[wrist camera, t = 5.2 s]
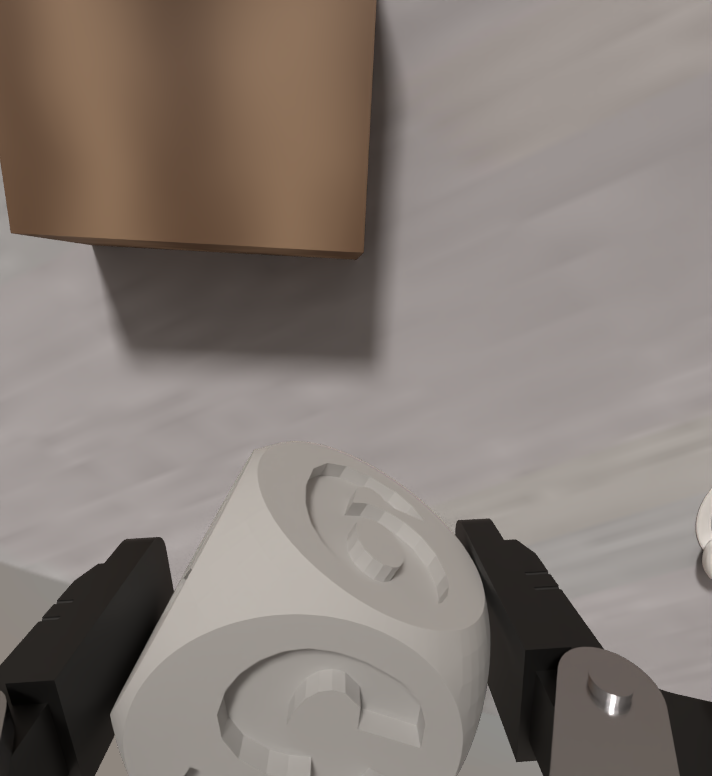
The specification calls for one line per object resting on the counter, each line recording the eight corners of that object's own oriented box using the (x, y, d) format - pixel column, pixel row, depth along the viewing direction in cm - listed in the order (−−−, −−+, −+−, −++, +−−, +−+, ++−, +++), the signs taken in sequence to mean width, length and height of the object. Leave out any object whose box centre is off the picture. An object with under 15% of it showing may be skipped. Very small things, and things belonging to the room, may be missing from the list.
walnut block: (370, -50, 20) (386, -188, 14) (356, 259, 23) (363, 252, 17) (62, -80, 19) (-59, -242, 13) (95, 245, 22) (10, 233, 16)
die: (184, 571, 11) (57, 809, 6) (274, 411, 10) (210, 542, 5) (350, 644, 12) (359, 908, 7) (449, 504, 11) (543, 695, 6)
